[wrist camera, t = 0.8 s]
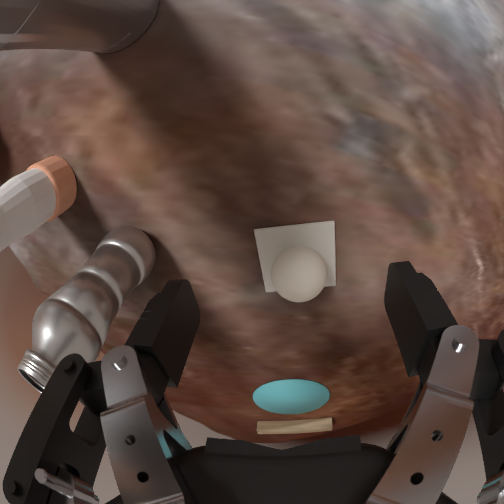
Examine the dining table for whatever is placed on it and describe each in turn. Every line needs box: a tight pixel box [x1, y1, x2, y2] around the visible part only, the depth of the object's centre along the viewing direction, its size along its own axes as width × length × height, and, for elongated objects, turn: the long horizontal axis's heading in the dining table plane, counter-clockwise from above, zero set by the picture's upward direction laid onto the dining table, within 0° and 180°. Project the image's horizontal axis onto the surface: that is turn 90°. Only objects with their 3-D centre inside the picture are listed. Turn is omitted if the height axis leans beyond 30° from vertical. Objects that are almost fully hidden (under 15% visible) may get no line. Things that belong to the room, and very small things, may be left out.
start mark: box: [254, 221, 336, 292], centre depth 29 cm, size 8×8×1 cm
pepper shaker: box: [0, 156, 77, 252], centre depth 18 cm, size 7×7×19 cm
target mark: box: [253, 379, 330, 414], centre depth 44 cm, size 14×14×1 cm
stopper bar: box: [257, 417, 332, 434], centre depth 49 cm, size 2×16×2 cm, turn 100°
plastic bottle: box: [18, 226, 156, 393], centre depth 21 cm, size 6×7×20 cm
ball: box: [271, 246, 327, 302], centre depth 26 cm, size 6×6×6 cm
